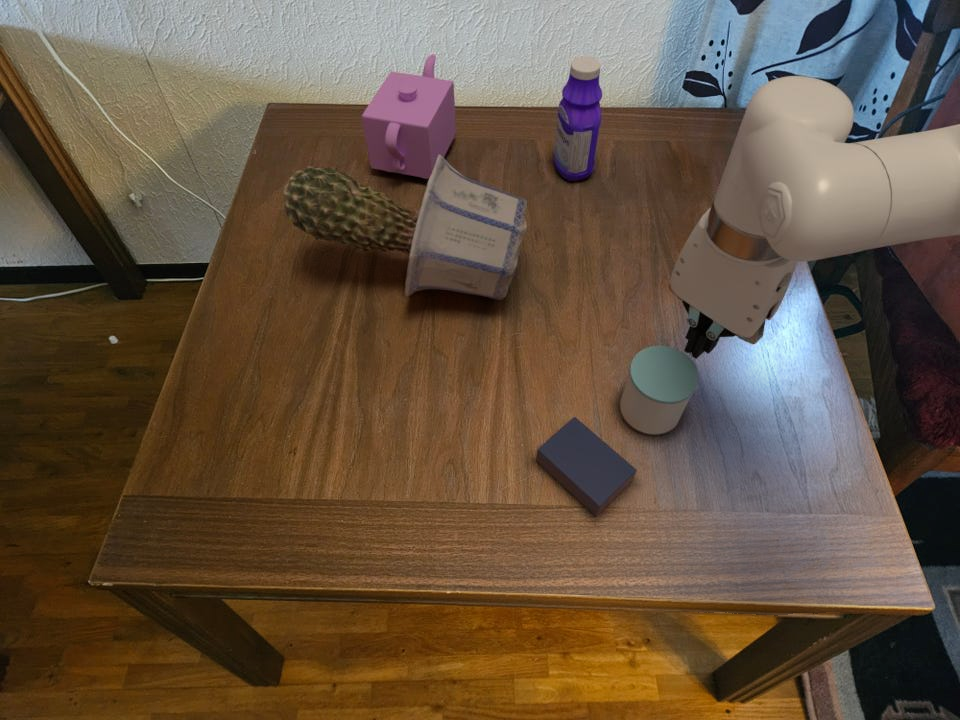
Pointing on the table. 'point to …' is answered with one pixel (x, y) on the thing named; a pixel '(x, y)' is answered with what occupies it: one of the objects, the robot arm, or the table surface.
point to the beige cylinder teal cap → (658, 390)
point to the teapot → (410, 122)
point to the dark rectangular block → (585, 466)
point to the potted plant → (419, 226)
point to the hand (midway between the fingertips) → (697, 347)
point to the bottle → (579, 120)
